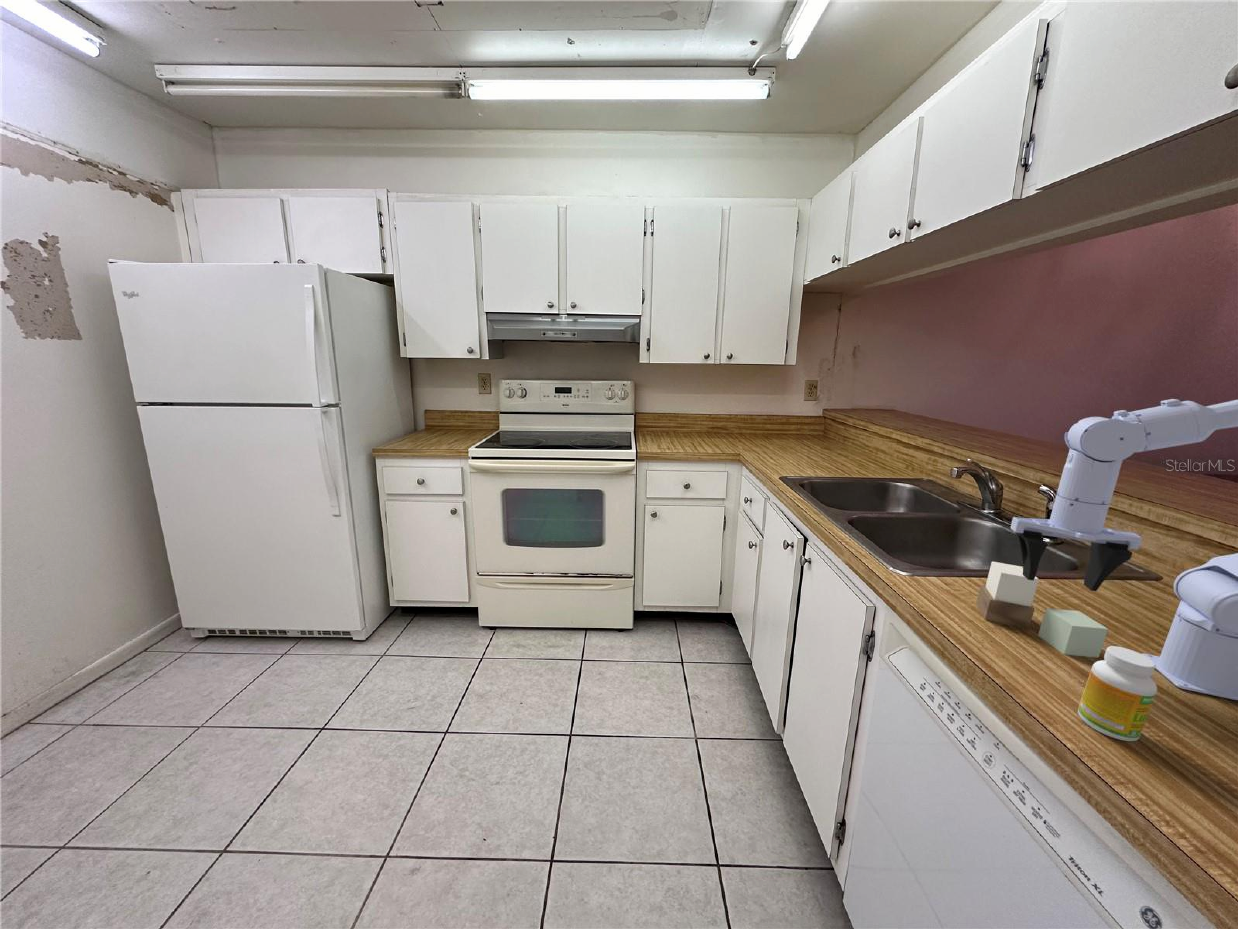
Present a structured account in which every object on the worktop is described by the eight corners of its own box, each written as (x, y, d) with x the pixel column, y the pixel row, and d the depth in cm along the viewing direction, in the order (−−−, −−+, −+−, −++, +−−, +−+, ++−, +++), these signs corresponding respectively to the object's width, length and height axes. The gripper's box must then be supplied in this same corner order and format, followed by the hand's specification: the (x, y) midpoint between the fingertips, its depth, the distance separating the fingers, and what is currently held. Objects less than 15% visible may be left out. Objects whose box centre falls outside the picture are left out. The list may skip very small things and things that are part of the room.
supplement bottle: (1134, 750, 54) (1162, 677, 51) (1071, 720, 58) (1094, 651, 56) (1142, 730, 57) (1168, 660, 55) (1082, 703, 61) (1103, 637, 59)
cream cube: (1019, 593, 82) (1026, 567, 81) (1031, 606, 78) (1038, 579, 77) (985, 587, 84) (991, 561, 83) (994, 599, 80) (1001, 572, 78)
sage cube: (1070, 638, 76) (1079, 611, 75) (1098, 658, 71) (1108, 629, 70) (1037, 635, 76) (1046, 608, 75) (1063, 654, 72) (1072, 625, 70)
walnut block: (1016, 613, 83) (1022, 593, 82) (1028, 630, 78) (1034, 609, 77) (975, 604, 86) (980, 584, 85) (984, 620, 80) (990, 599, 79)
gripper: (1034, 498, 68) (1011, 583, 71) (1167, 514, 63) (1136, 605, 66) (1014, 486, 74) (994, 565, 77) (1133, 500, 69) (1107, 584, 72)
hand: (1058, 582), depth 72 cm, fingers open, 7 cm apart
